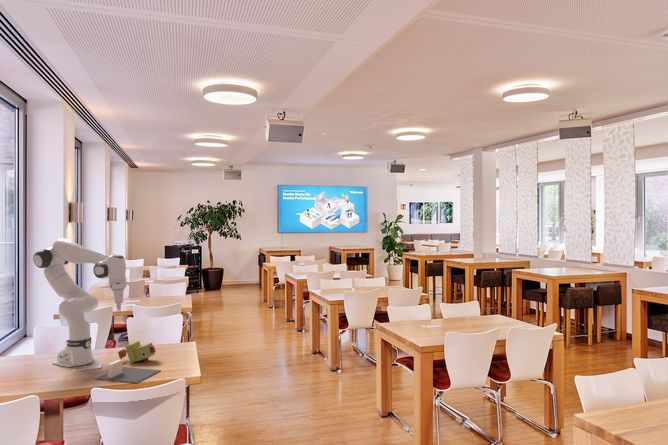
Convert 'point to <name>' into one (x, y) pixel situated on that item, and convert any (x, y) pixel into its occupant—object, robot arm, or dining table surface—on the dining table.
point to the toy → (137, 351)
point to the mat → (130, 375)
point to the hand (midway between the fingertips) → (118, 309)
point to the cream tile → (114, 368)
